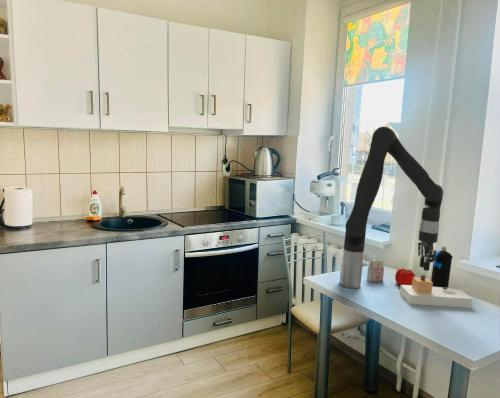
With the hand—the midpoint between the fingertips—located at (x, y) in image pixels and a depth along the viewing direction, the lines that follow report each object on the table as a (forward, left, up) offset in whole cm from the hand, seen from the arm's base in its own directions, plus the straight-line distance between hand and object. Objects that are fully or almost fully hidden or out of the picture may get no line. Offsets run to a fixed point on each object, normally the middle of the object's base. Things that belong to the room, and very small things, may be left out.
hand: (424, 268), depth 171 cm
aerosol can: (+16, +18, -14) cm, 28 cm away
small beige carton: (-14, +22, -15) cm, 30 cm away
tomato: (-1, +18, -15) cm, 23 cm away
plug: (0, 0, -12) cm, 12 cm away
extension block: (+6, 0, -14) cm, 15 cm away
